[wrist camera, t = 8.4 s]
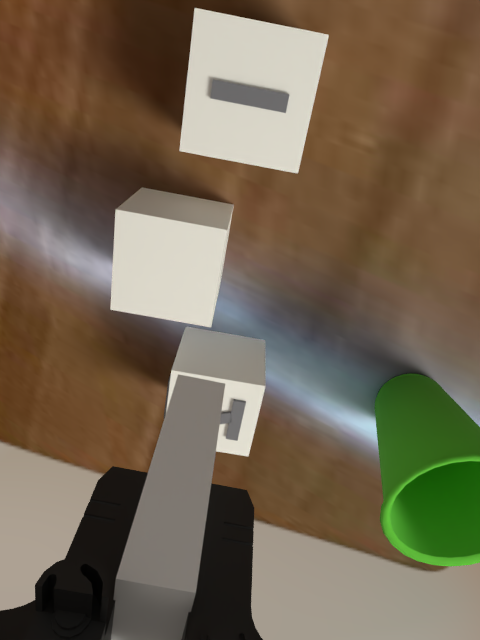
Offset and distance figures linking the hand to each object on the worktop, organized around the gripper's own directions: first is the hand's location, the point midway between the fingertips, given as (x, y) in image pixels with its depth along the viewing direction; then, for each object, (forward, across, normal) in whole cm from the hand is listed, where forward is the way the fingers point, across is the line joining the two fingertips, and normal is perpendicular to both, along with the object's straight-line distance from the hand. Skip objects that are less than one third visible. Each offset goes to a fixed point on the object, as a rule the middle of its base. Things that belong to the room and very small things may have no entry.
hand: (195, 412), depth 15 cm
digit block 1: (+18, -1, +9) cm, 20 cm away
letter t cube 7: (+18, +1, -10) cm, 21 cm away
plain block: (+18, -3, -1) cm, 19 cm away
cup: (+18, +16, -10) cm, 26 cm away
